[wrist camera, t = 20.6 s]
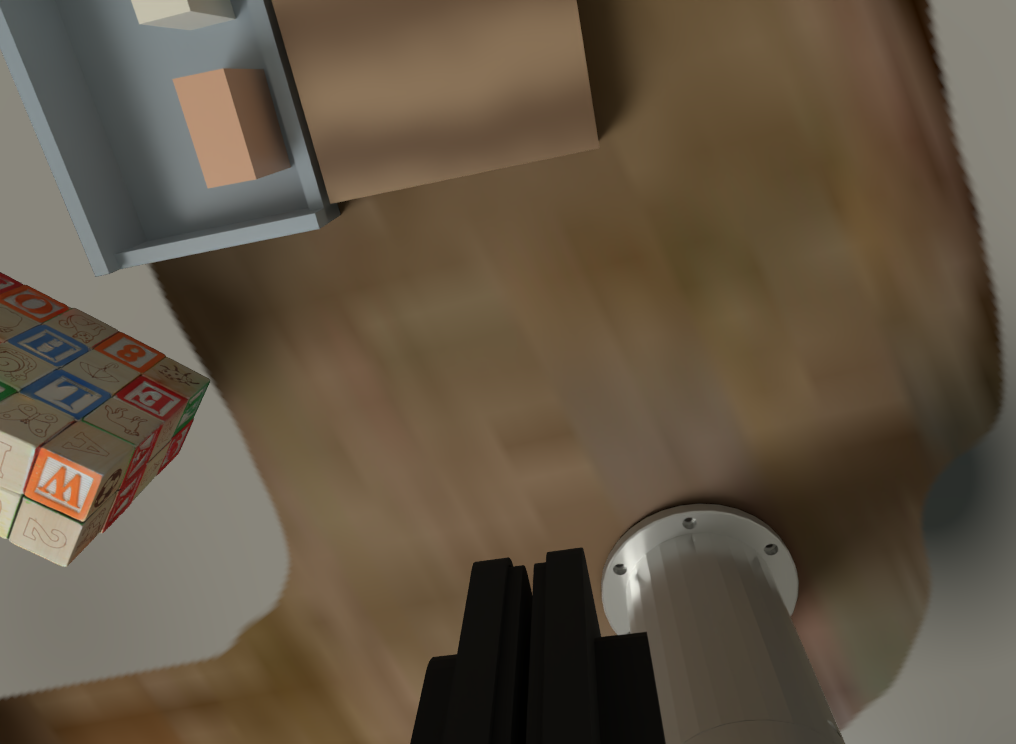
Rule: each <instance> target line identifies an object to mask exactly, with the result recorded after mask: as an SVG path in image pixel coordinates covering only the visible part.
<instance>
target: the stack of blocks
mask: <svg viewBox="0 0 1016 744" xmlns="http://www.w3.org/2000/svg"><path fill="white" fill-rule="evenodd" d="M209 383H210V379H209V378H207V377H205V376H203V375H201V374H199V373H197V372H195V371H193V370H191V369H190V368H188V367H186V366H184V365H182V364H180V363H178V362H176V361H174V360H172V359H170V358H168V357H166V356H165V355H164V354H163V353H161V352H159V351H158V350H156V349H154V348H152V347H149V346H148V345H146V344H144V343H142V342H140V341H138V340H136V339H134V338H132V337H130V336H128V335H126V334H124V333H122V332H119V331H118V330H116V329H115V328H113V327H111V326H109V325H107V324H106V323H104V322H102V321H100V320H98V319H96V318H94V317H92V316H90V315H88V314H86V313H84V312H82V311H80V310H78V309H76V308H70V307H68V306H67V305H65V304H63V303H60V302H58V301H57V300H55V299H52V298H51V297H49V296H47V295H45V294H43V293H41V292H39V291H37V290H35V289H33V288H31V287H30V286H28V285H23V284H21V283H20V282H18V281H16V280H14V279H12V278H10V277H9V276H7V275H5V274H2V273H1V272H0V537H2V538H5V539H7V538H9V541H10V542H11V543H13V544H15V545H17V546H19V547H21V548H23V549H26V550H28V551H30V552H32V553H34V554H36V555H38V556H41V557H43V558H45V559H47V560H49V561H51V562H53V563H56V564H58V565H60V566H64V567H66V566H68V565H69V564H70V563H71V562H72V561H73V560H74V559H75V558H76V557H77V556H78V554H79V553H81V552H82V550H83V549H84V548H85V547H86V546H87V545H88V544H89V543H90V542H91V541H92V540H93V539H94V538H95V537H96V536H97V534H98V533H99V532H100V533H103V532H105V531H106V529H107V528H108V527H110V526H111V525H112V523H113V522H114V521H115V520H116V519H117V518H118V517H119V515H121V514H122V513H123V512H124V511H125V510H126V509H127V508H128V507H129V505H130V504H131V502H132V501H133V500H134V499H135V498H136V497H137V496H138V495H139V494H140V493H141V492H142V490H143V489H144V488H145V487H146V486H147V485H148V484H149V483H150V482H151V481H152V479H154V477H155V476H157V475H158V474H159V473H160V472H161V471H162V470H163V469H164V468H165V467H166V466H167V465H168V464H169V463H170V462H171V461H172V460H173V459H174V458H175V457H176V456H177V455H178V453H179V451H180V450H181V447H182V445H183V443H184V441H185V439H186V436H187V434H188V432H189V430H190V427H191V425H192V423H193V420H194V416H195V414H196V412H197V410H198V407H199V405H200V403H201V401H202V398H203V396H204V394H205V392H206V390H207V387H208V385H209Z"/></svg>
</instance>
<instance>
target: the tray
mask: <svg viewBox="0 0 1016 744" xmlns="http://www.w3.org/2000/svg"><path fill="white" fill-rule="evenodd" d="M230 1H231V5H232V8H233V11H234V14H235V17H236V19H234V20H230V21H226V22H222V23H218V24H214V25H210V26H206V27H202V28H198V29H194V30H183V29H174V28H166V27H158V26H150V25H142V24H139V22H138V19H137V16H136V13H135V10H134V8H133V5H132V2H131V0H0V49H1V51H2V54H3V56H4V58H5V61H6V63H7V66H8V68H9V70H10V73H11V75H12V78H13V80H14V82H15V85H16V87H17V90H18V92H19V94H20V97H21V99H22V102H23V104H24V106H25V109H26V111H27V114H28V116H29V118H30V121H31V123H32V126H33V128H34V130H35V133H36V135H37V138H38V140H39V142H40V145H41V147H42V149H43V152H44V154H45V157H46V159H47V162H48V164H49V166H50V169H51V171H52V174H53V176H54V178H55V181H56V183H57V185H58V188H59V190H60V193H61V195H62V198H63V200H64V202H65V205H66V207H67V210H68V212H69V214H70V217H71V219H72V222H73V224H74V226H75V229H76V231H77V233H78V236H79V238H80V241H81V243H82V245H83V248H84V250H85V253H86V255H87V257H88V260H89V262H90V265H91V267H92V269H93V272H94V274H95V276H102V275H106V274H110V273H113V272H115V271H117V270H119V269H123V268H128V267H133V266H138V265H143V264H148V263H153V262H158V261H163V260H168V259H173V258H178V257H183V256H188V255H193V254H197V253H202V252H207V251H212V250H217V249H222V248H227V247H232V246H237V245H242V244H247V243H252V242H257V241H262V240H267V239H271V238H276V237H281V236H286V235H291V234H296V233H301V232H306V231H311V230H316V229H320V228H321V227H323V226H325V225H326V224H328V223H329V222H331V221H332V220H334V219H335V218H337V217H338V216H340V215H341V214H340V211H339V207H338V204H337V203H332V204H330V200H329V197H328V194H327V190H326V187H325V183H324V180H323V176H322V173H321V169H320V166H319V162H318V159H317V155H316V152H315V149H314V145H313V142H312V138H311V135H310V131H309V128H308V124H307V121H306V117H305V114H304V111H303V107H302V104H301V100H300V97H299V93H298V90H297V86H296V83H295V79H294V76H293V73H292V69H291V66H290V62H289V59H288V55H287V52H286V48H285V45H284V41H283V38H282V34H281V31H280V28H279V24H278V21H277V17H276V14H275V10H274V7H273V3H272V0H230ZM222 68H231V69H264V72H265V76H266V79H267V83H268V87H269V90H270V94H271V97H272V101H273V104H274V108H275V111H276V115H277V119H278V122H279V126H280V129H281V133H282V136H283V140H284V144H285V147H286V151H287V154H288V158H289V161H290V165H291V168H288V169H285V170H282V171H279V172H276V173H273V174H270V175H268V176H265V177H262V178H259V179H256V180H251V181H245V182H240V183H235V184H229V185H224V186H219V187H213V188H207V185H206V182H205V178H204V175H203V172H202V169H201V166H200V163H199V160H198V157H197V154H196V151H195V148H194V145H193V141H192V138H191V135H190V132H189V129H188V126H187V123H186V120H185V117H184V114H183V111H182V107H181V104H180V101H179V98H178V95H177V92H176V89H175V86H174V83H173V80H172V79H175V78H180V77H184V76H189V75H194V74H199V73H203V72H208V71H213V70H218V69H222Z"/></svg>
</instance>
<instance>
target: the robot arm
mask: <svg viewBox="0 0 1016 744" xmlns="http://www.w3.org/2000/svg"><path fill="white" fill-rule="evenodd" d="M688 517H689V518H688ZM798 585H799V580H798V575H797V570H796V566H795V564H794V561H793V559H792V557H791V555H790V552H789V550H788V549H787V547H786V545H785V544H784V542H783V541H782V539H781V538H780V537H779V535H778V534H777V533H776V532H775V531H774V530H773V529H772V528H771V527H770V526H769V525H767V524H766V523H764V522H763V521H761V520H760V519H758V518H757V517H755V516H753V515H751V514H748V513H746V512H744V511H741V510H739V509H736V508H731V507H727V506H723V505H716V504H691V505H681V506H677V507H673V508H670V509H666V510H662V511H660V512H658V513H656V514H653V515H651V516H649V517H647V518H645V519H643V520H642V521H640V522H639V523H638V524H636V525H635V526H633V527H632V528H630V529H629V530H628V531H627V532H626V533H625V534H624V535H623V536H622V537H621V538H620V539H619V540H618V542H617V543H616V545H615V546H614V548H613V549H612V550H611V552H610V553H609V556H608V558H607V561H606V563H605V566H604V568H603V574H602V581H601V589H602V601H603V606H604V611H605V614H606V617H607V619H608V621H609V623H610V625H611V627H612V628H613V630H614V631H615V633H616V634H617V635H615V636H606V637H601V634H600V629H599V624H598V619H597V614H596V609H595V604H594V599H593V594H592V589H591V584H590V579H589V574H588V569H587V564H586V559H585V554H584V551H583V548H575V549H567V550H560V551H553V552H547V555H546V562H544V563H537V564H534V575H533V596H532V592H531V587H530V583H529V579H528V575H527V571H526V568H525V566H524V565H522V566H515V567H513V564H512V561H511V559H510V558H501V559H494V560H487V561H479V562H475V563H473V566H472V571H471V577H470V583H469V589H468V595H467V600H466V606H465V612H464V618H463V624H462V629H461V635H460V641H459V647H458V653H457V654H456V655H447V656H439V657H432V659H431V660H430V661H429V664H428V667H427V670H426V674H425V679H424V683H423V688H422V693H421V697H420V702H419V706H418V711H417V715H416V720H415V725H414V729H413V734H412V738H411V743H410V744H845V742H844V740H843V737H842V735H841V733H840V730H839V728H838V726H837V724H836V721H835V719H834V717H833V714H832V712H831V710H830V707H829V705H828V703H827V700H826V698H825V696H824V693H823V691H822V689H821V686H820V684H819V682H818V679H817V677H816V675H815V673H814V670H813V668H812V666H811V663H810V661H809V659H808V656H807V654H806V652H805V649H804V647H803V645H802V642H801V640H800V638H799V635H798V633H797V631H796V628H795V626H794V624H793V622H792V619H791V615H792V614H793V612H794V609H795V605H796V602H797V598H798Z"/></svg>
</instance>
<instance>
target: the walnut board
mask: <svg viewBox="0 0 1016 744" xmlns="http://www.w3.org/2000/svg"><path fill="white" fill-rule="evenodd" d="M272 3H273V7H274V10H275V14H276V17H277V21H278V24H279V28H280V31H281V34H282V38H283V41H284V45H285V48H286V52H287V55H288V59H289V62H290V66H291V69H292V73H293V76H294V79H295V83H296V86H297V90H298V93H299V97H300V100H301V104H302V107H303V111H304V114H305V117H306V121H307V124H308V128H309V131H310V135H311V138H312V142H313V145H314V149H315V152H316V155H317V159H318V162H319V166H320V169H321V173H322V176H323V180H324V183H325V187H326V190H327V194H328V197H329V200H330V204H332V203H337V202H342V201H347V200H351V199H356V198H361V197H366V196H371V195H376V194H380V193H385V192H390V191H395V190H400V189H405V188H409V187H414V186H419V185H424V184H429V183H434V182H438V181H443V180H448V179H453V178H458V177H463V176H467V175H472V174H477V173H482V172H487V171H492V170H496V169H501V168H506V167H511V166H516V165H521V164H525V163H530V162H535V161H540V160H545V159H550V158H554V157H559V156H564V155H569V154H574V153H579V152H583V151H588V150H593V149H598V148H599V142H598V135H597V129H596V122H595V116H594V109H593V103H592V97H591V90H590V84H589V77H588V71H587V64H586V58H585V52H584V45H583V39H582V32H581V26H580V19H579V13H578V6H577V0H272Z"/></svg>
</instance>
